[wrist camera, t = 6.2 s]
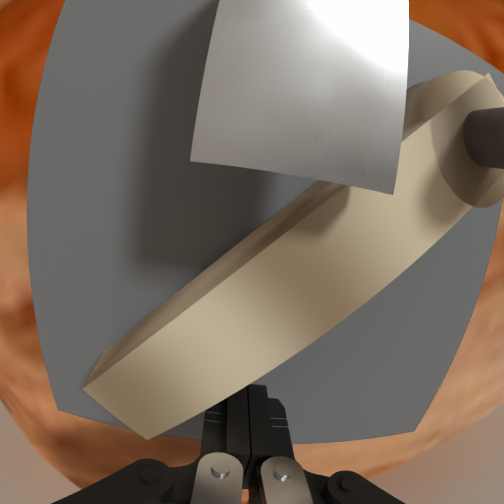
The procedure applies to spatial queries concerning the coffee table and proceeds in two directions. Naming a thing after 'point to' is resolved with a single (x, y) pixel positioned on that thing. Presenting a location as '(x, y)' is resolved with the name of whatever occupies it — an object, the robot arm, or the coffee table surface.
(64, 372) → the base plate
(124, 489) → the robot arm
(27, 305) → the coffee table surface
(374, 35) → the keeper
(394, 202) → the latch bar
